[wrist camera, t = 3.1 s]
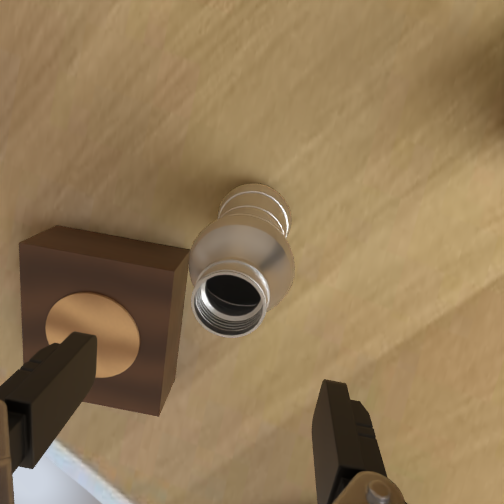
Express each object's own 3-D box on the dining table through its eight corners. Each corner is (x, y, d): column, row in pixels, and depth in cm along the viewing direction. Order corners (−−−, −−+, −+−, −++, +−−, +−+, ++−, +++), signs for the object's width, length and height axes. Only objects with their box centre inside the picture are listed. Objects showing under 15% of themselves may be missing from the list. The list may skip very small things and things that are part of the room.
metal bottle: (234, 169, 37) (179, 220, 18) (301, 193, 37) (319, 271, 18) (213, 230, 39) (145, 336, 20) (277, 254, 39) (270, 380, 20)
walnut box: (56, 225, 40) (16, 243, 34) (190, 249, 40) (173, 272, 34) (57, 356, 45) (22, 392, 39) (175, 379, 45) (158, 419, 39)
